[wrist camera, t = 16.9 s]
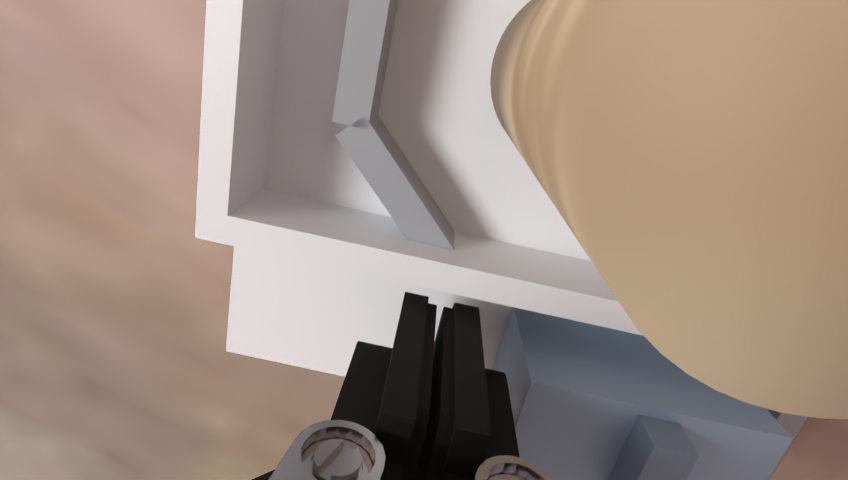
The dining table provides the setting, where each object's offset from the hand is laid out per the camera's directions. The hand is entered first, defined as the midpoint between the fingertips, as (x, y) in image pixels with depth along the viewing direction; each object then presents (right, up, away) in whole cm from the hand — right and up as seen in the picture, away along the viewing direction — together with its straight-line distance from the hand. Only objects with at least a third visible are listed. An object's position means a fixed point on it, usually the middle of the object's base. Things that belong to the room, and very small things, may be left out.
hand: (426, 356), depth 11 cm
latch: (+4, 0, +1) cm, 4 cm away
